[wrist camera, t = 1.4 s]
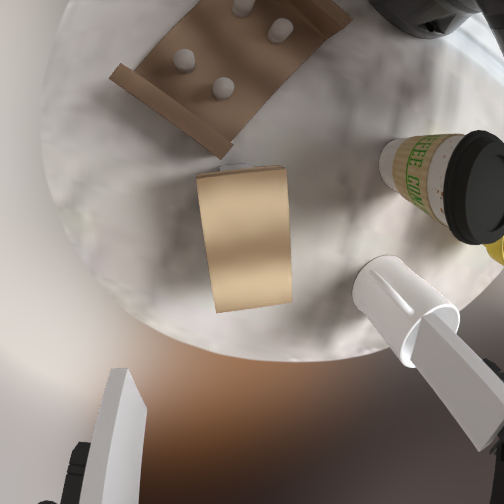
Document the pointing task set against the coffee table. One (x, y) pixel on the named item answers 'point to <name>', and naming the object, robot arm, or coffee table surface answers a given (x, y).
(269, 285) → the board
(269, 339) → the coffee table surface
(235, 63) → the cradle
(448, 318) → the mug
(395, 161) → the coffee cup
